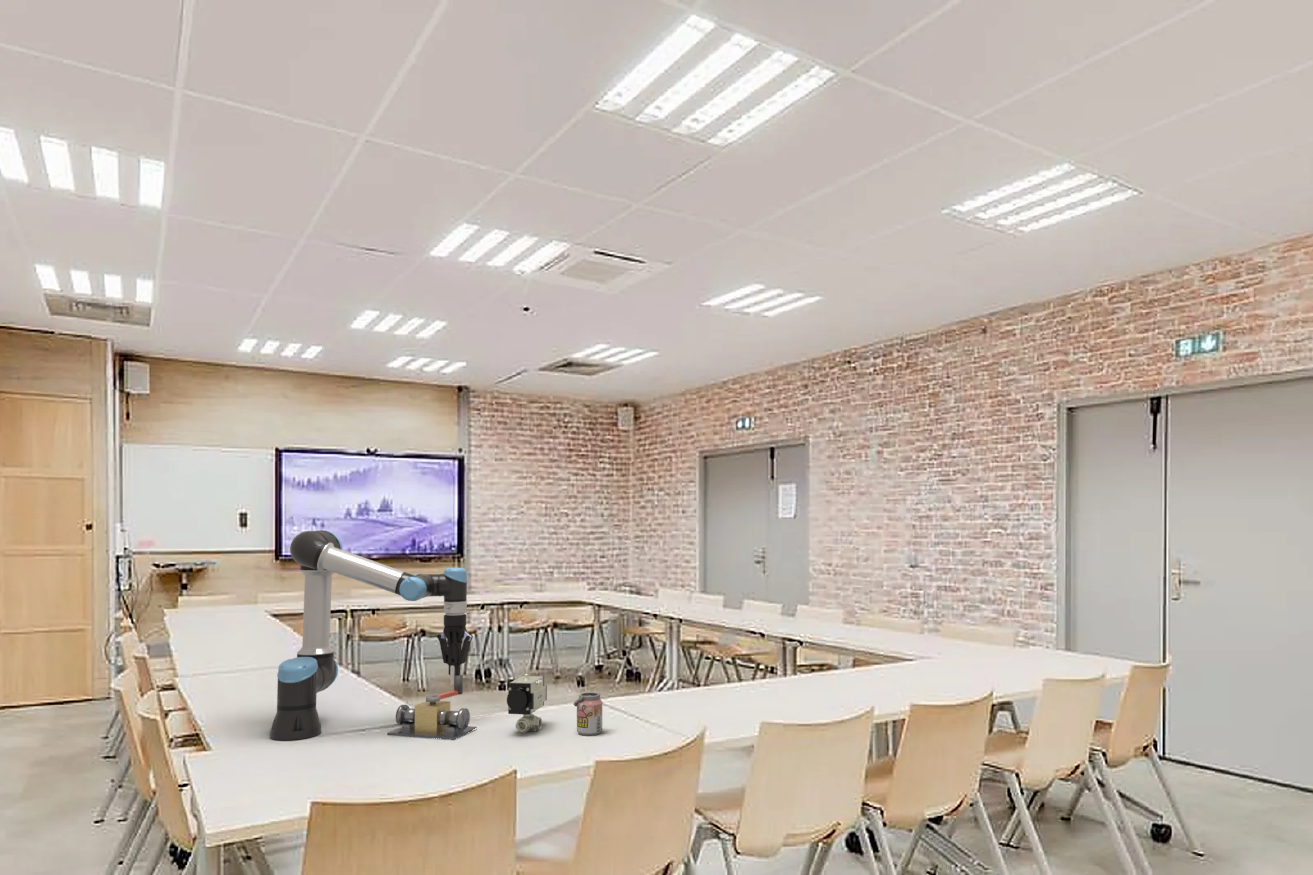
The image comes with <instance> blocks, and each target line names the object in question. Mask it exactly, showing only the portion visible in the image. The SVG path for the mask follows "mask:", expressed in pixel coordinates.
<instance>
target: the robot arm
mask: <svg viewBox="0 0 1313 875" xmlns="http://www.w3.org/2000/svg"><path fill="white" fill-rule="evenodd" d="M289 546H290V547H289V553H290V556H291V557H292V560H293V561H294V562H295V563H296V564H298V565H300V568H299V570H300V572H301V573H302V574H303V575H304V587H303V588H304V591H303V595H304V596H303V616H302V617H303V619H302V620H303V622H302V642H301V643H302V645H301V646H302V647H301V648H300V649H299V650H298V651H297V653H296V657H293V658H289V659H286V660H284V661H282V662H281V663H280V664H279V666H278V671H277V687H276V688H277V695H276V699H277V700H276V713H275V715H274V716H275V717H274V719H273V722H272V725H271V728H270V732H269V738H270V739H272V740H275V741H296V740H304V739H310V738H313V737H316V736H319V735H320V734H321V733H322V723H321V721H320V716H319V713H318V709H317V695H318V694H317V693H319V692H322V691H325V690H327V689H328V688H329V687H330V686H331V685H332V684H333V683H334V682H335V681H336V679H337V676H338V673H339V666H338V663H337V661H336V660H335V657H334V656H335V650H334V649H333V648H332V647H331V646H330V642H331V641H330V640H331V638H330V636H331V609H332V607H331V606H332V580H333V579H332V578H333V574H334V573H336V574H338V575H341V576H343V577H347V578H349V579H351V580H355V581H358V582H361V583H364V584H366V585H369V586H372V587H376V588H377V589H378V588H379V589H381V590H384V591H387V592H389V593H393V594H395V595H398V596H401V597H402V598H403V599H404V600H405V601H409V602H417V601H419V600H421V599H424V598H429V597H443V613H444V615H443V626H444V628H443V629H442V630H443V631H442V632H441V633H440V634H437V635H436V638H437V639H438V641H439V646H440V651H441V656H442V657H441V658H442V661H443V663H444V664H446V665H447V666H448V675H449V676H450V677H449V678H450V679H449V680H450V682H449V683H450V684H449V686H450V687H452V686H453V687H454V675H461V666H462V665H463V664H466V662H467V658H468V653H469V649H470V644H471V641H472V640H473V637H474V636H473V635H472V634H469V633H468V630H467V627H466V625H467V614H466V613H467V611H468V610H467V607H468V606H467V603H468V601H467V588H468V578H467V577H468V576H467V569H465V568H464V567H448V568H445V569H444V571H443V573H440V574H439V573H438V574H437V573H434V574H433V573H431V574H430V573H429V574H428V573H416V574H412V573H409V572H406V571H403V570H400V569H397V568H395V567H391V566H389V565H386V564H384V563H381V562H377V561H375V560H372V559H369V558H366V557H364V556H360V555H359V554H355V553H352V552H349V551H346V550H344V549H343V544H342V542H341V539H340V538H339V536H338V535H337V534H335V533H334V532H333V531H332V532H331V531H328V530H322V529H321V530H306V531H303V532H300V533H298V534H297V535H296V536H294V538H293V539H292V541H291V542H290V545H289Z"/></svg>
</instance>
